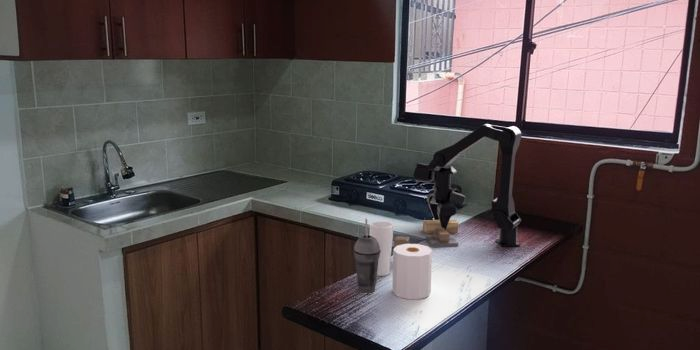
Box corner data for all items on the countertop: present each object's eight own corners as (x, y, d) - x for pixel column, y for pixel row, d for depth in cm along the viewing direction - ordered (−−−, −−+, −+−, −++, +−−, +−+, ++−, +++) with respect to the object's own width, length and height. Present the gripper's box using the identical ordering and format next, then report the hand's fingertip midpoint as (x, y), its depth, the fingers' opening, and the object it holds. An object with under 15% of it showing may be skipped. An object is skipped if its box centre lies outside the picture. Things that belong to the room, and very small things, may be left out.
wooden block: (406, 265, 175) (407, 240, 173) (393, 264, 176) (394, 239, 174) (408, 261, 178) (409, 236, 177) (396, 259, 180) (396, 235, 178)
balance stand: (458, 245, 193) (458, 234, 192) (432, 246, 192) (432, 235, 191) (450, 237, 202) (450, 226, 201) (425, 238, 201) (425, 227, 200)
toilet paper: (407, 281, 163) (409, 240, 160) (438, 291, 156) (439, 249, 153) (384, 291, 155) (385, 249, 153) (415, 303, 148) (416, 259, 146)
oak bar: (457, 233, 208) (458, 222, 207) (425, 234, 206) (425, 223, 206) (454, 230, 211) (455, 219, 211) (422, 230, 210) (423, 220, 209)
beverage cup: (357, 297, 152) (358, 224, 147) (350, 286, 158) (350, 217, 154) (383, 294, 153) (385, 222, 149) (375, 284, 160) (376, 215, 156)
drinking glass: (378, 267, 173) (378, 219, 170) (396, 272, 169) (397, 223, 166) (364, 273, 168) (364, 224, 165) (382, 279, 164) (383, 229, 161)
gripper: (472, 190, 197) (470, 233, 200) (456, 178, 215) (454, 218, 219) (441, 190, 196) (439, 234, 199) (427, 179, 214) (425, 219, 217)
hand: (440, 226), depth 208 cm, fingers open, 9 cm apart
